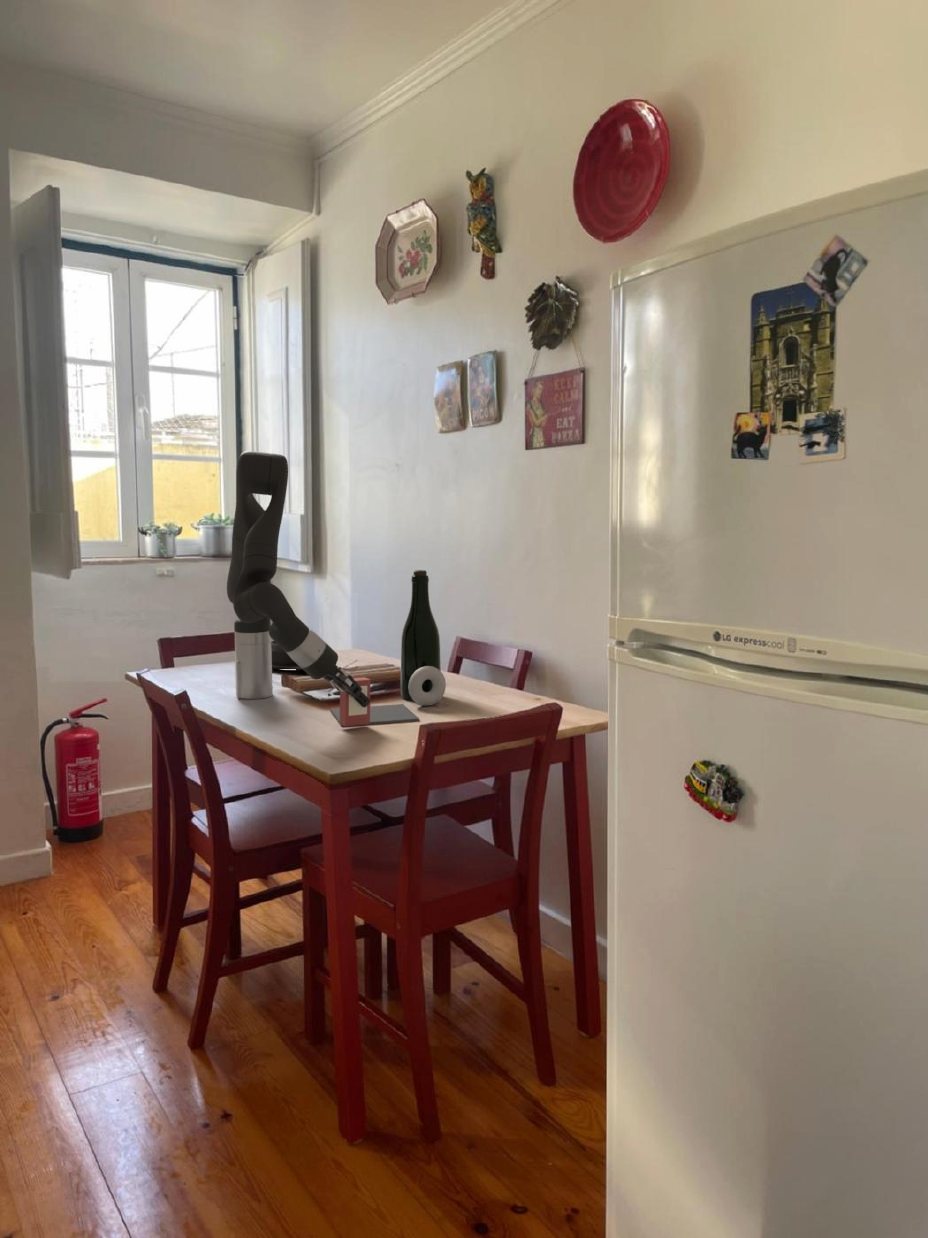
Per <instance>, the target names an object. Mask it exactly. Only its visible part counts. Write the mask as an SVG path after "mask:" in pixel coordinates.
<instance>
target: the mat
mask: <svg viewBox="0 0 928 1238" xmlns="http://www.w3.org/2000/svg"><path fill="white" fill-rule="evenodd" d="M330 713H331V715H332V716H333V717H334V719H335V720H336V721H337V722H338V725H340V727H341V728H343V727H344V728H345V727H347V726H343V725H342V724H340V707H339V708H330ZM408 721H412V722H419V721H420V718H419V717H418V716H417V715H416V714H415V713H414V712H413V711H411V710H410V709H409V708H408V706H406V705H404V704H403V703H400V704H384V705H370V724H363V725H362V726H369V725H370V726H371V725H383V724H385V725H386V724H396V723H397V724H399V723H407V722H408ZM408 723H409V722H408ZM355 726H356V727H357V726H360V725H354V726H353V727H355Z"/></svg>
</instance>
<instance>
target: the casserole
mask: <svg viewBox="0 0 928 1238" xmlns="http://www.w3.org/2000/svg"><path fill="white" fill-rule="evenodd" d="M271 650H272V668H274V669H275V668H276V669H275V670H277V669H296V670H303V669H302V668H301V667H300V666H299V665H298V664H296V663H295V662H294V661H293V660H292V659H291V658H290V656H289V655H288V654H287V653H286V652H285V651H284V650H283V649H282V648H281V647H280V646H279V645H278V644H277V643H276V642H275V641H274V640H271Z"/></svg>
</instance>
